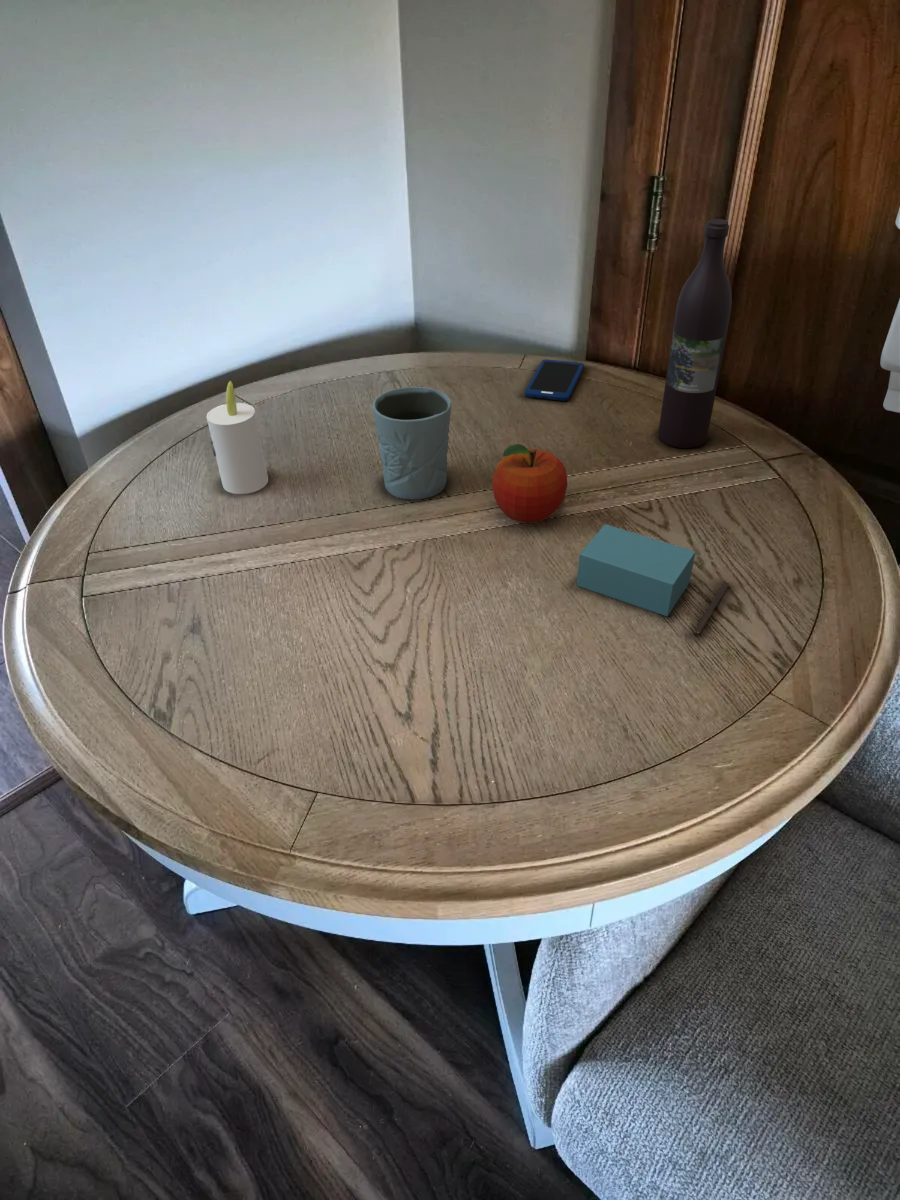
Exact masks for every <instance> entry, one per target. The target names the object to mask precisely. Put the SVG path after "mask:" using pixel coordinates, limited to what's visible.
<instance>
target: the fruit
mask: <svg viewBox="0 0 900 1200" xmlns="http://www.w3.org/2000/svg"><path fill="white" fill-rule="evenodd" d="M502 456H503V458H502V459H500V461H498V463H497V466H496V467H495V469H494V472H493V474H492V478H491V485H492V491H493V492H492V494H493V498H494V500H495V503H496V505H497V506H498V508H499V510H500V511H501V512H502V513H503V515H504V516H506V517H507V518H509V519H510V520H512V521H515V522H518V523H523V524H524V523H525V524H530V523H533V524H534V523H539V522H542V521H545V520H547V519H549V518H550V517H551V516H552V515H554V513H556V511H558V510H559V508H560V507H561V505H562V503H563V502H564V500H565V496H566V493H567V489H568V475H567V469H566V466H565V465H564V463H563V462H562V461H561V460H560V459H559V458H558V456H556V455H555V454H554V453H552V452H550V451H548V450H543V449H538V448H537V449H535V448H527V447H526V446H525V445H522V444H520V443H515V444H512V445H508V447H506V449H504V452H503V454H502Z"/></svg>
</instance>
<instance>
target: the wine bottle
mask: <svg viewBox="0 0 900 1200" xmlns="http://www.w3.org/2000/svg"><path fill="white" fill-rule="evenodd" d="M729 231H730V225H729V221H728V220H726V219H722V218H711V219H708V220H707V223H706V224H705V227H704V231H703V233H704V236H705V237H704V243H703V249H702V251H701V255H700V259H699V261H698V263H697V265H696V266H695V268H694V269H693V270H692V272H691V274H690V275H689V276H688V278H687V279H686V281H685V283H684V284H683V286H682V288H681V290H680V293H679V296H678V299H677V304H676V309H675V314H674V321H673V322H674V323H673V329H672V336H671V341H670V348H669V357H668V362H667V370H666V377H665V383H664V391H663V396H662V404H661V411H660V417H659V424H658V430H657V431H658V433H657V434H658V438H659V440H660V441H661V442H663V443H664V444H665V445H667V446H670V447H674V448H677V449H678V448H679V449H693V448H697V447H700V446H702V445H704V444H705V443H706V441H707V439H708V435H709V432H710V431H709V430H710V426H711V420H712V416H713V409H714V405H715V399H716V395H717V388H718V384H719V378H720V374H721V373H720V372H721V367H722V362H723V355H724V352H725V351H724V350H725V347H726V346H725V345H726V340H727V335H728V330H729V325H730V320H731V314H732V306H733V296H732V295H733V294H732V293H733V292H732V287H731V283H730V280H729V277H728V274H727V271H726V267H725V263H724V250H725V245H726V238H727V237H728V236H729Z"/></svg>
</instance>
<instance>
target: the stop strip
mask: <svg viewBox="0 0 900 1200" xmlns="http://www.w3.org/2000/svg"><path fill="white" fill-rule="evenodd" d="M729 586H730V582H726V581H724V582H723V583H722V584H721V586H720V588H719V590H718V591H717V593H716V595H715V596H714V598H713V599H712V601H711V602H710V604H709V606H708V608H707V609H706V611H705V612H704V614H703V615H702V618H701V619H700V620H699V622H698V624H697V625H696V627H695V629H694V631H693V635H692V636H694V637H697V638H699V637H700V635H701V633H702V632H703V630H704V628H705V627H706V625H707V623H708V622H709V620H710V618H711V617H712V615H713V613H714V612H715V611H716V609H717V607H718V605H719V603H720V602H721V600H722V599H723V597H724V595H725V594H726V592H727V590H728V589H729Z"/></svg>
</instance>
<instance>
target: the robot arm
mask: <svg viewBox="0 0 900 1200" xmlns="http://www.w3.org/2000/svg"><path fill="white" fill-rule="evenodd" d="M895 226H896V228H897V229H898V230H900V207H899V208H898V211H897V215H896V218H895ZM879 363H880V365H879V366H880V367H881V368H882V369H883V370H886V371H890V373H889V374H890V375H889V379H888V380H889V381H888V388H887V391H886V394H885V397H884V400H883V404H882V405H883V409H884V410H886V411H887V412H888V411H889V412H894V413H898V414H900V298H899V299H898V302H897V306H896V308H895V311H894V314H893V317H892V320H891V323H890V327H889V329H888V333H887V336H886V339H885V341H884V345H883V347H882V351H881V355H880V362H879Z"/></svg>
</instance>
